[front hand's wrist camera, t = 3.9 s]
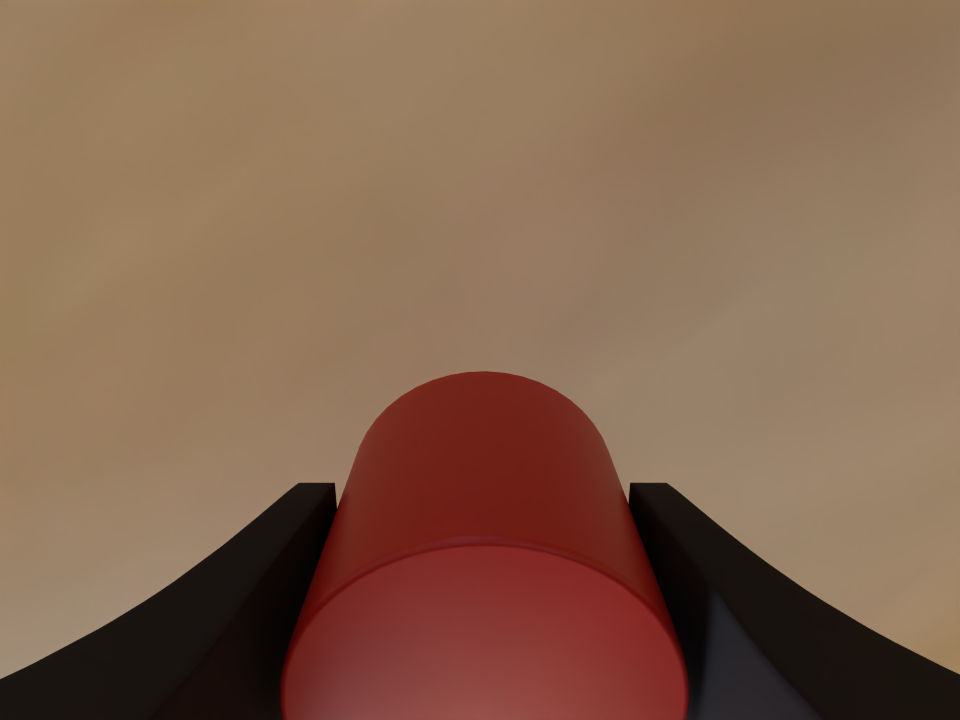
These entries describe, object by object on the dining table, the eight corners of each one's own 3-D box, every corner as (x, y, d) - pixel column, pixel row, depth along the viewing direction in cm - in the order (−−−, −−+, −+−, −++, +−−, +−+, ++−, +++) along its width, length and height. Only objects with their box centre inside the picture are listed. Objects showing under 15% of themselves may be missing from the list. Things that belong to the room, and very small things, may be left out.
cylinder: (330, 384, 12) (233, 561, 7) (607, 356, 12) (693, 519, 7) (375, 606, 14) (321, 865, 9) (618, 585, 13) (691, 838, 9)
